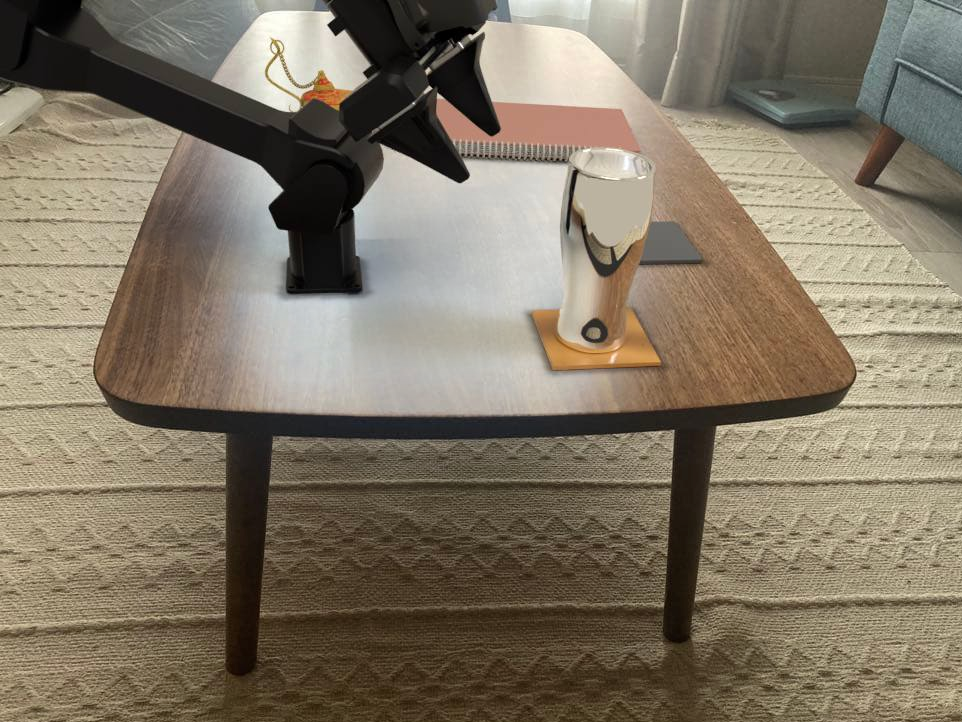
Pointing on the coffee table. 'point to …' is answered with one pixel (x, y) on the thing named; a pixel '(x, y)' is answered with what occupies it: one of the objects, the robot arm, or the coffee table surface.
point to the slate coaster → (668, 245)
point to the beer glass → (602, 244)
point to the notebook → (538, 130)
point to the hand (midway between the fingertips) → (481, 155)
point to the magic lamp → (321, 86)
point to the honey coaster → (565, 358)
